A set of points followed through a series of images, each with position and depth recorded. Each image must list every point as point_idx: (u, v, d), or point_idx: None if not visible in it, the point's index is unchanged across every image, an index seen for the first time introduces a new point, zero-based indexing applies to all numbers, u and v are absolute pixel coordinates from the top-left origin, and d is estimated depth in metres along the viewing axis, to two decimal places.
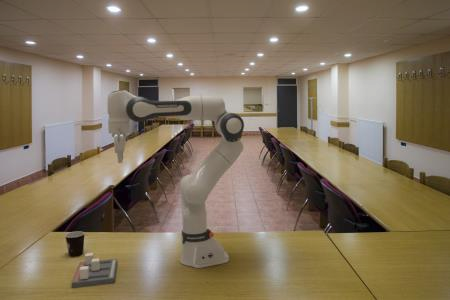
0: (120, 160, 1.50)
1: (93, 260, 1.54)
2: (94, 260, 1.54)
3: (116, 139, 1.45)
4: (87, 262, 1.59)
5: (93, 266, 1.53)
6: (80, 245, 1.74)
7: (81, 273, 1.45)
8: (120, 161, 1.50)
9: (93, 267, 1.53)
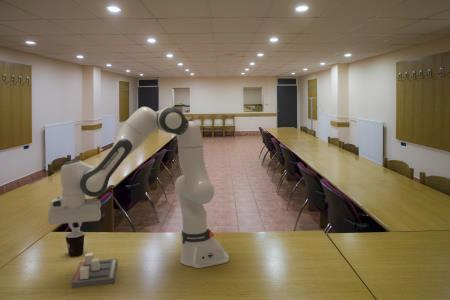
0: (79, 229, 1.51)
1: (93, 260, 1.54)
2: (94, 260, 1.54)
3: (98, 207, 1.51)
4: (87, 262, 1.59)
5: (93, 266, 1.53)
6: (80, 245, 1.74)
7: (81, 273, 1.45)
8: (79, 230, 1.51)
9: (93, 267, 1.53)
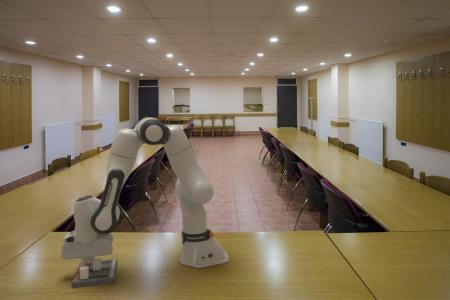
0: None
1: (94, 260, 1.54)
2: (95, 260, 1.54)
3: (110, 241, 1.54)
4: None
5: (94, 266, 1.53)
6: None
7: (81, 273, 1.45)
8: None
9: (94, 267, 1.53)
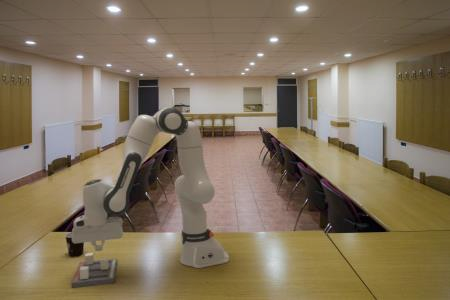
0: (102, 247, 1.55)
1: (102, 259, 1.54)
2: (103, 259, 1.54)
3: (120, 225, 1.54)
4: (87, 262, 1.59)
5: (102, 265, 1.53)
6: (80, 245, 1.74)
7: (81, 273, 1.45)
8: (102, 248, 1.55)
9: (102, 266, 1.54)
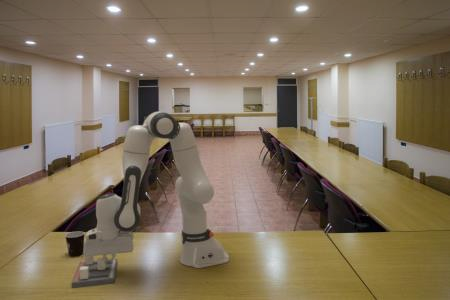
0: (112, 260, 1.56)
1: (99, 259, 1.54)
2: (100, 259, 1.54)
3: (131, 239, 1.56)
4: (87, 262, 1.59)
5: (99, 265, 1.53)
6: (80, 245, 1.74)
7: (81, 273, 1.45)
8: None
9: (99, 266, 1.53)
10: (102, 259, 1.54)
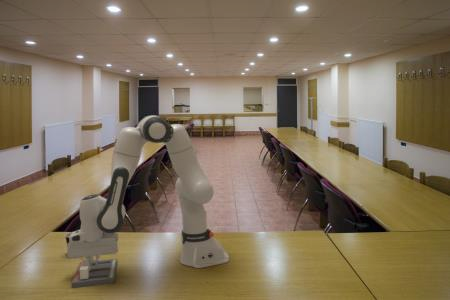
0: None
1: (84, 261, 1.53)
2: (85, 261, 1.53)
3: (116, 240, 1.54)
4: None
5: None
6: None
7: (81, 273, 1.45)
8: None
9: None
10: (87, 261, 1.53)
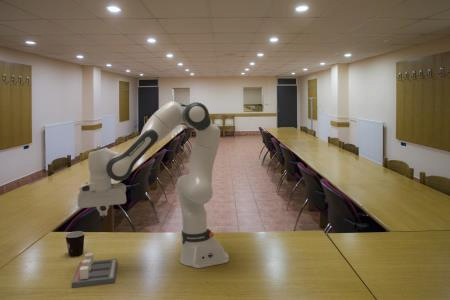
0: (106, 212, 1.61)
1: (84, 261, 1.53)
2: (85, 261, 1.53)
3: (124, 191, 1.60)
4: None
5: None
6: (80, 245, 1.74)
7: (81, 273, 1.45)
8: None
9: None
10: (87, 260, 1.53)
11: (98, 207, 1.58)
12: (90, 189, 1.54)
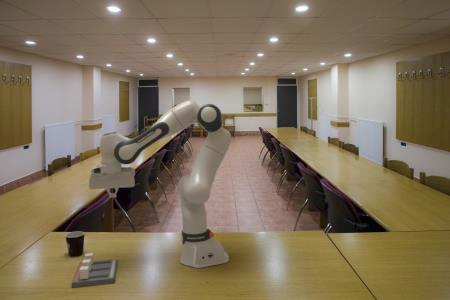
0: None
1: (84, 261, 1.53)
2: (85, 261, 1.53)
3: (133, 175, 1.69)
4: None
5: None
6: (80, 245, 1.74)
7: (81, 273, 1.45)
8: None
9: None
10: (87, 260, 1.53)
11: (108, 189, 1.67)
12: (101, 171, 1.63)
